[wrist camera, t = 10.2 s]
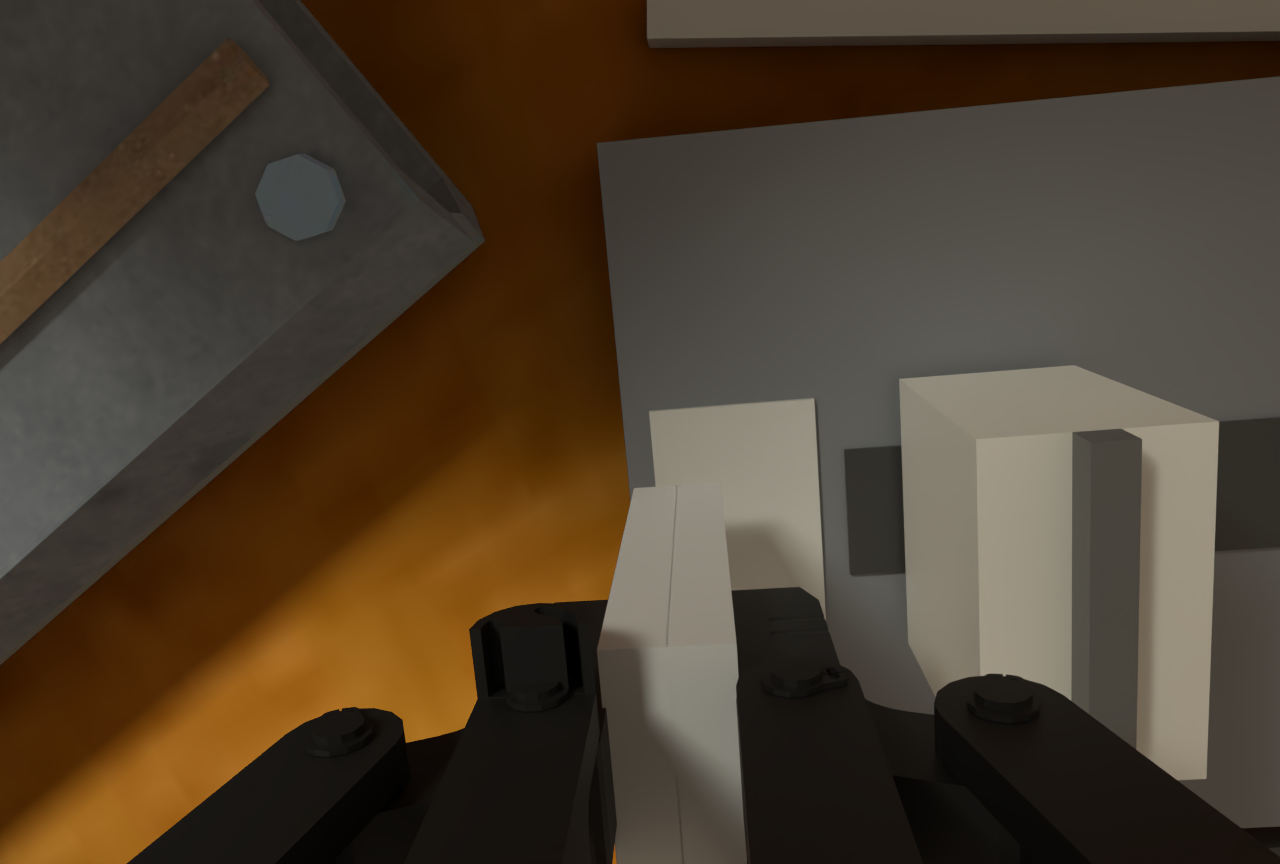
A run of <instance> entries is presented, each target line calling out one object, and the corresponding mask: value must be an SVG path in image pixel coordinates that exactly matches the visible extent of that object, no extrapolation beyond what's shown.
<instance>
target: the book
mask: <svg viewBox="0 0 1280 864" xmlns="http://www.w3.org/2000/svg"><path fill="white" fill-rule="evenodd" d="M484 242H485V239H484V236H483V234H482V231H481V228H480V226H479V223H478V220H477V218H476V215H475V212H474V210H473V207H472V205H471V204H470V203H469V202H468V200H467V199H466V198H465V197H464V196H463V194H462V193H461V192H460V191H459V190H458V188H457V187H456V186H455V185H454V184H453V182H452V181H451V180H450V179H449V178H448V176H447V175H446V174H445V173H444V172H443V170H442V169H441V168H440V167H439V166H438V164H437V163H436V162H435V161H434V160H433V158H432V157H431V156H430V155H429V154H428V152H427V151H426V150H425V149H424V148H423V146H422V145H421V144H420V143H419V142H418V141H417V139H416V138H415V137H414V136H413V135H412V133H411V132H410V131H409V130H408V129H407V127H406V126H405V125H404V124H403V123H402V121H401V120H400V119H399V118H398V117H397V115H396V114H395V113H394V112H393V111H392V109H391V108H390V107H389V106H388V105H387V103H386V102H385V101H384V100H383V99H382V97H381V96H380V95H379V94H378V93H377V91H376V90H375V89H374V88H373V87H372V85H371V84H370V83H369V82H368V81H367V79H366V78H365V77H364V76H363V75H362V73H361V72H360V71H359V70H358V69H357V67H356V66H355V65H354V64H353V63H352V61H351V60H350V59H349V58H348V57H347V55H346V54H345V53H344V52H343V51H342V49H341V48H340V47H339V46H338V45H337V43H336V42H335V41H334V40H333V39H332V37H331V36H330V35H329V34H328V33H327V31H326V30H325V29H324V28H323V27H322V25H321V24H320V23H319V22H318V21H317V19H316V18H315V17H314V16H313V15H312V14H311V12H310V11H309V10H308V9H307V8H306V6H305V5H304V4H303V3H302V2H301V0H0V665H1V664H2V663H4V662H5V661H6V660H7V659H8V658H9V657H10V656H12V655H13V654H14V653H15V652H16V651H17V650H18V649H20V648H21V647H22V646H23V645H24V644H25V643H26V642H28V641H29V640H30V639H31V638H32V637H33V636H34V635H36V634H37V633H38V632H39V631H40V630H41V629H42V628H44V627H45V626H46V625H47V624H48V623H49V622H50V621H52V620H53V619H54V618H55V617H56V616H57V615H58V614H60V613H61V612H62V611H63V610H64V609H65V608H66V607H68V606H69V605H70V604H71V603H72V602H73V601H74V600H76V599H77V598H78V597H79V596H80V595H81V594H82V593H84V592H85V591H86V590H87V589H88V588H89V587H90V586H92V585H93V584H94V583H95V582H96V581H97V580H98V579H100V578H101V577H102V576H103V575H104V574H105V573H106V572H108V571H109V570H110V569H111V568H112V567H113V566H114V565H116V564H117V563H118V562H119V561H120V560H121V559H122V558H124V557H125V556H126V555H127V554H128V553H129V552H130V551H132V550H133V549H134V548H135V547H136V546H137V545H138V544H140V543H141V542H142V541H143V540H144V539H145V538H146V537H148V536H149V535H150V534H151V533H152V532H153V531H154V530H156V529H157V528H158V527H159V526H160V525H161V524H162V523H164V522H165V521H166V520H167V519H168V518H169V517H170V516H172V515H173V514H174V513H175V512H176V511H177V510H178V509H180V508H181V507H182V506H183V505H184V504H185V503H186V502H188V501H189V500H190V499H191V498H192V497H193V496H194V495H196V494H197V493H198V492H199V491H200V490H201V489H202V488H204V487H205V486H206V485H207V484H208V483H209V482H210V481H212V480H213V479H214V478H215V477H216V476H217V475H218V474H220V473H221V472H222V471H223V470H224V469H225V468H226V467H228V466H229V465H230V464H231V463H232V462H233V461H234V460H236V459H237V458H238V457H239V456H240V455H241V454H242V453H244V452H245V451H246V450H247V449H248V448H249V447H250V446H252V445H253V444H254V443H255V442H256V441H257V440H258V439H260V438H261V437H262V436H263V435H264V434H265V433H266V432H268V431H269V430H270V429H271V428H272V427H273V426H274V425H276V424H277V423H278V422H279V421H280V420H281V419H282V418H284V417H285V416H286V415H287V414H288V413H289V412H290V411H292V410H293V409H294V408H295V407H296V406H297V405H298V404H300V403H301V402H302V401H303V400H304V399H305V398H306V397H308V396H309V395H310V394H311V393H312V392H313V391H314V390H316V389H317V388H318V387H319V386H320V385H321V384H322V383H324V382H325V381H326V380H327V379H328V378H329V377H330V376H332V375H333V374H334V373H335V372H336V371H337V370H338V369H340V368H341V367H342V366H343V365H344V364H345V363H346V362H348V361H349V360H350V359H351V358H352V357H353V356H354V355H356V354H357V353H358V352H359V351H360V350H361V349H362V348H364V347H365V346H366V345H367V344H368V343H369V342H370V341H372V340H373V339H374V338H375V337H376V336H377V335H378V334H380V333H381V332H382V331H383V330H384V329H385V328H386V327H388V326H389V325H390V324H391V323H392V322H393V321H394V320H396V319H397V318H398V317H399V316H400V315H401V314H402V313H404V312H405V311H406V310H407V309H408V308H409V307H410V306H412V305H413V304H414V303H415V302H416V301H417V300H418V299H420V298H421V297H422V296H423V295H424V294H425V293H426V292H428V291H429V290H430V289H431V288H432V287H433V286H434V285H436V284H437V283H438V282H439V281H440V280H441V279H442V278H444V277H445V276H446V275H447V274H448V273H449V272H450V271H452V270H453V269H454V268H455V267H456V266H457V265H458V264H460V263H461V262H462V261H463V260H464V259H465V258H466V257H468V256H469V255H470V254H471V253H472V252H473V251H474V250H476V249H477V248H478V247H479V246H480V245H481V244H482V243H484Z"/></svg>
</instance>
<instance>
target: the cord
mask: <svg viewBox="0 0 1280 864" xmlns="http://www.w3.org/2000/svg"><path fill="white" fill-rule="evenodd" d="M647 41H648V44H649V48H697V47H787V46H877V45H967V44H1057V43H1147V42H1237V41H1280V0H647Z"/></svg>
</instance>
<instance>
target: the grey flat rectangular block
mask: <svg viewBox="0 0 1280 864" xmlns="http://www.w3.org/2000/svg"><path fill="white" fill-rule="evenodd" d="M597 152H598V163H599V173H600V184H601V194H602V205H603V215H604V226H605V237H606V247H607V258H608V268H609V279H610V289H611V300H612V310H613V321H614V331H615V342H616V353H617V363H618V374H619V384H620V395H621V405H622V416H623V426H624V437H625V447H626V458H627V468H628V479H629V490H630V500H631V499H632V494H633V490H634V488H644V487H661V486H677V485H693V484H709V483H721V492H722V502H723V512H724V522H725V532H726V542H727V552H728V563H729V573H730V583H731V590H749V589H768V588H787V587H801V588H802V589H804V590H805V591H807V592H808V593H809V594H811V595H812V596H814V597H815V598H817V599H818V600H819V602H820V605H821V608H822V611H823V614H824V619H825V620H826V623H827V626H828V631H829V632H830V635H831V638H832V641H833V644H834V648H835V651H836V654H837V657H838V660H839V663H840V665H841V666H843V667H845V668H847V669H849V670H851V671H852V673H853V674H854V675H855V676H856V678H857V679H858V680H859V683H860V686H861V689H862V691H863V694H864V697H865V699H866V700H868V701H870V702H872V703H875V704H878V705H881V706H885V707H888V708H892V709H897V710H903V711H908V712H916V713H924V714H932V715H934V702H935V698H936V697H935V695H934V693H933V691H932V689H931V687H930V685H929V683H928V681H927V679H926V677H925V675H924V673H923V671H922V669H921V667H920V665H919V663H918V661H917V659H916V657H915V655H914V654H913V652H912V650H911V648H910V646H909V644H908V625H907V595H906V566H905V537H904V507H903V478H902V449H901V419H900V390H899V379H904V378H917V377H930V376H942V375H955V374H968V373H981V372H993V371H1006V370H1019V369H1031V368H1044V367H1057V366H1070V365H1075V366H1078V367H1080V368H1083V369H1085V370H1088V371H1090V372H1093V373H1096V374H1098V375H1101V376H1103V377H1106V378H1109V379H1111V380H1114V381H1116V382H1119V383H1121V384H1124V385H1127V386H1129V387H1132V388H1134V389H1137V390H1140V391H1142V392H1145V393H1147V394H1150V395H1152V396H1155V397H1158V398H1160V399H1163V400H1165V401H1168V402H1171V403H1173V404H1176V405H1178V406H1181V407H1183V408H1186V409H1189V410H1191V411H1194V412H1196V413H1199V414H1202V415H1204V416H1207V417H1209V418H1212V419H1214V420H1217V421H1219V440H1218V468H1217V496H1216V524H1215V552H1214V580H1213V608H1212V636H1211V664H1210V692H1209V720H1208V748H1207V776H1206V779H1194V780H1178V781H1179V782H1180V783H1182V784H1183V785H1184V786H1186V787H1187V788H1188V789H1190V790H1191V791H1192V792H1194V793H1195V794H1196V795H1198V796H1199V797H1200V798H1202V799H1203V800H1204V801H1206V802H1207V803H1208V804H1210V805H1211V806H1212V807H1214V808H1215V809H1216V810H1218V811H1219V812H1220V813H1222V814H1223V815H1224V816H1226V817H1227V818H1228V819H1230V820H1231V821H1232V822H1234V823H1235V824H1236V825H1238V826H1239V827H1240V828H1257V827H1279V826H1280V76H1278V77H1268V78H1257V79H1247V80H1237V81H1227V82H1216V83H1206V84H1196V85H1186V86H1175V87H1165V88H1155V89H1145V90H1134V91H1124V92H1114V93H1104V94H1093V95H1083V96H1073V97H1063V98H1052V99H1042V100H1032V101H1021V102H1011V103H1001V104H991V105H980V106H970V107H960V108H950V109H939V110H929V111H919V112H909V113H898V114H888V115H878V116H868V117H857V118H847V119H837V120H827V121H816V122H806V123H796V124H786V125H775V126H765V127H755V128H744V129H734V130H724V131H714V132H703V133H693V134H683V135H673V136H662V137H652V138H642V139H632V140H621V141H611V142H601V143H597Z"/></svg>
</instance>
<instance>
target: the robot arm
mask: <svg viewBox="0 0 1280 864" xmlns="http://www.w3.org/2000/svg"><path fill="white" fill-rule="evenodd" d="M469 631H470V639H471V647H472V656H473V664H474V672H475V680H476V688H477V697H478V700H477V702H476V704H475V706H474V709H473V711H472V713H471V715H470V717H469V720H468V722H467V724H466V726H465V728H463V729H461V730H458V731H455V732H452V733H448V734H444V735H441V736H437V737H432V738H427V739H423V740H418V741H413V742H409V743H406V742H405V735H404V728H403V721H402V719H400V718H399V717H398V716H396V715H395V714H394V713H392V712H389V711H384V710H380V709H375V708H367V709H358V708H356V707H351V708H343V709H342V711H339V709H338V710H334V711H330V712H327V713H325V714H323V715H322V716H321V717H318V718H315V719H313V720H310V721H308V722H305V723H303V724H302V725H300V726H299V727H297V728H295V729H294V730H292V731H290V732H289V733H287V734H286V735H285V736H283V737H282V738H281V739H280V740H279V741H277V742H276V743H275V744H274V745H272V746H271V747H270V748H269V749H267V750H266V751H265V752H264V753H262V754H261V755H260V756H259V757H258V758H256V759H255V760H254V761H253V762H251V763H250V764H249V765H248V766H246V767H245V768H244V769H243V770H242V771H240V772H239V773H238V774H237V775H235V776H234V777H233V778H232V779H230V780H229V781H228V782H227V783H226V784H224V785H223V786H222V787H221V788H219V789H218V790H217V791H216V792H214V793H213V794H212V795H211V796H210V797H208V798H207V799H206V800H205V801H203V802H202V803H201V804H200V805H198V806H197V807H196V808H195V809H194V810H192V811H191V812H190V813H189V814H187V815H186V816H185V817H184V818H182V819H181V820H180V821H179V822H178V823H176V824H175V825H174V826H173V827H171V828H170V829H169V830H168V831H166V832H165V833H164V834H163V835H162V836H160V837H159V838H158V839H157V840H155V841H154V842H153V843H152V844H150V845H149V846H148V847H147V848H146V849H144V850H143V851H142V852H141V853H139V854H138V855H137V856H136V857H134V858H133V859H132V860H131V861H130V862H128V863H127V864H612V859H613V852H614V844H615V849H616V859H617V864H1280V857H1279V856H1278V855H1276V854H1275V853H1274V852H1272V851H1271V850H1270V849H1268V848H1267V847H1266V846H1264V845H1263V844H1262V843H1260V842H1259V841H1258V840H1256V839H1255V838H1254V837H1252V836H1251V835H1250V834H1248V833H1247V832H1246V831H1244V830H1243V829H1242V828H1240V827H1239V826H1238V825H1236V824H1235V823H1234V822H1232V821H1231V820H1230V819H1228V818H1227V817H1226V816H1224V815H1223V814H1222V813H1220V812H1219V811H1218V810H1216V809H1215V808H1214V807H1212V806H1211V805H1210V804H1208V803H1207V802H1206V801H1204V800H1203V799H1202V798H1200V797H1199V796H1198V795H1196V794H1195V793H1194V792H1192V791H1191V790H1190V789H1188V788H1187V787H1186V786H1184V785H1183V784H1182V783H1180V782H1179V781H1178V780H1176V779H1175V778H1174V777H1172V776H1171V775H1170V774H1168V773H1167V772H1166V771H1164V770H1163V769H1162V768H1160V767H1159V766H1158V765H1156V764H1155V763H1154V762H1152V761H1151V760H1149V759H1148V758H1147V757H1145V756H1144V755H1143V754H1141V753H1140V752H1139V751H1137V750H1136V749H1135V748H1133V747H1132V746H1131V745H1129V744H1128V743H1127V742H1125V741H1124V740H1123V739H1121V738H1120V737H1119V736H1117V735H1116V734H1115V733H1113V732H1112V731H1111V730H1109V729H1108V728H1107V727H1105V726H1104V725H1103V724H1101V723H1100V722H1099V721H1097V720H1096V719H1095V718H1093V717H1092V716H1091V715H1089V714H1088V713H1087V712H1085V711H1084V710H1083V709H1081V708H1080V707H1079V706H1077V705H1076V704H1075V703H1073V702H1072V701H1071V700H1069V699H1068V698H1067V697H1065V696H1064V695H1062V694H1061V693H1059V692H1057V691H1055V690H1053V689H1051V688H1049V687H1047V686H1046V685H1043V684H1040V683H1036V682H1033V681H1029V680H1026V679H1023V678H1022V677H1019V676H1014V675H1007V674H1006V676H1003V674H986V675H985V676H974V677H967V678H963V679H960V680H957V681H953V682H950V683H948V684H947V685H946V686H944V687H943V688H941V689H940V690H939V691H937V694H936V698H935V702H934V715H932V714H924V713H916V712H908V711H903V710H897V709H892V708H888V707H885V706H881V705H878V704H875V703H872V702H870V701H868V700H866V699H865V697H864V694H863V691H862V689H861V686H860V683H859V680H858V679H857V678H856V676H855V675H854V674H853V673H852V671H851V670H849V669H847V668H845V667H843V666H841V665H840V663H839V660H838V657H837V654H836V651H835V648H834V644H833V641H832V638H831V635H830V632H829V631H828V626H827V623H826V620H825V619H824V614H823V611H822V608H821V605H820V602H819V600H818V599H817V598H815V597H814V596H812V595H811V594H809V593H808V592H807V591H805V590H804V589H802V588H801V587H787V588H768V589H749V590H731V583H730V573H729V563H728V552H727V542H726V532H725V522H724V512H723V502H722V492H721V483H709V484H693V485H677V486H661V487H644V488H634V490H633V494H632V499H631V503H630V508H629V512H628V516H627V521H626V525H625V529H624V534H623V538H622V543H621V547H620V551H619V556H618V560H617V565H616V569H615V573H614V578H613V582H612V586H611V591H610V595H609V600H595V601H577V602H558V603H554V604H551V603H536V604H528V605H520V606H514V607H511V608H507V609H504V610H500V611H497V612H494V613H492V614H490V615H488V616H486V617H484V618H482V619H480V620H478V621H477V622H476V623H475V624H474V625H473V626H472V627H471V628H470V629H469Z"/></svg>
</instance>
